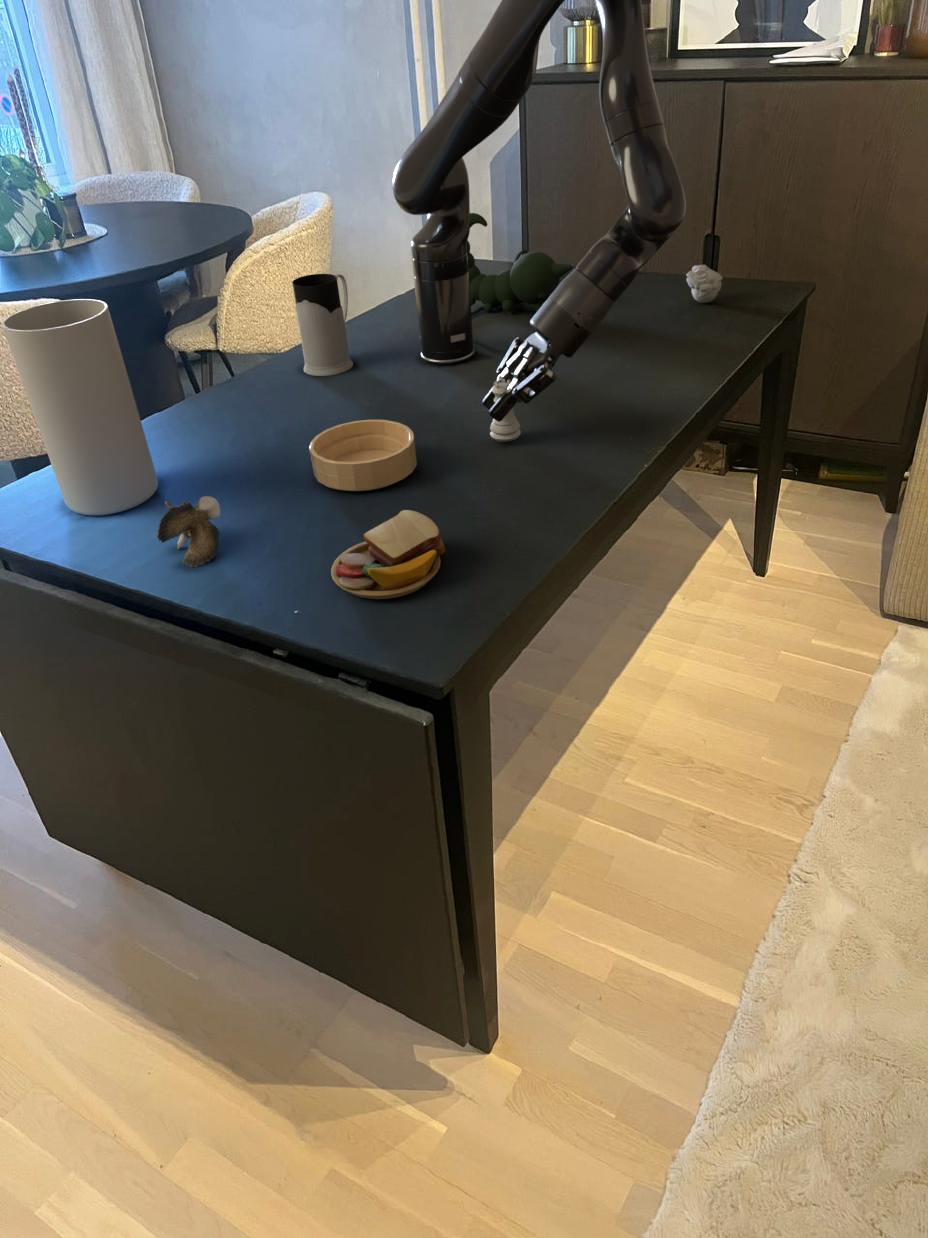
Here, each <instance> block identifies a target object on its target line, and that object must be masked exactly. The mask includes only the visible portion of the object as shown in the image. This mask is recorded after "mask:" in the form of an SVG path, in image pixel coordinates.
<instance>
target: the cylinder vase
mask: <svg viewBox="0 0 928 1238" xmlns="http://www.w3.org/2000/svg"><path fill="white" fill-rule="evenodd" d="M1 327H2V330H3V333H4V336H5V338H6V341H7V344H8V347H9V350H10V352H11V353H10V354H11V355H12V358H13V361H14V363H15V364H14V365H15V367H16V370H17V373H18V375H19V378H20V381H21V383H22V386H23V390H24V392H25V394H26V398H27V400H28V403H29V406H30V409H31V411H32V414H33V417H34V420H35V423H36V426H37V428H38V431H39V434H40V437H41V439H42V442H43V445H44V449H45V451H46V453H47V457H48V459H49V461H50V465H51V467H52V470H53V473H54V476H55V479H56V482H57V484H58V487H59V490H60V492H61V496H62V499H63V501H64V504H65V506H66V507H67V508H68V509H69V510H71V511H72V512H74V513H77V514H79V515H83V516H106V515H112V514H117V513H118V514H119V513H121V512H124V511H128V510H130V509H132V508H133V509H134V508H135V507H138V506H139V505H142V504H143V503H145V502H146V501H148V500H149V499H150V498H151V497H152V496H153V495H154V494H155V492H156V491H157V490H158V486H159V478H158V476H157V471H156V468H155V465H154V462H153V459H152V455H151V451H150V448H149V444H148V440H147V438H146V433H145V430H144V427H143V424H142V421H141V417H140V413H139V410H138V407H137V403H136V400H135V396H134V393H133V388H132V386H131V382H130V378H129V376H128V375H129V374H128V372H127V368H126V365H125V360H124V358H123V354H122V351H121V348H120V343H119V340H118V337H117V334H116V330H115V327H114V323H113V320H112V316H111V313H110V310H109V306H108V304H107V302H105V301H103V300H99V299H93V298H73V299H64V300H56V301H50V302H46V303H41V304H37V305H33V306H30V307H27V308H24V309H22V310H18V311H15V312H14V313H12V314H10V315H8V316H7V317H5V318H4V319H3V320H2V321H1Z"/></svg>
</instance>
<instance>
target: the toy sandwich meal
mask: <svg viewBox="0 0 928 1238" xmlns="http://www.w3.org/2000/svg"><path fill="white" fill-rule="evenodd" d="M363 538H364V541H362V542H360V543H357V544H355V545H353V546H351V547H349V548H347V549H346V550H345V551H343V552H342V553H340V554H339V555H338V556H337V558H336V559H335V560H334V562H333V563H332V566H331V570H330V575H331V578H332V580H333V582H334V583H335V584H336V585H337V586H338V587H339V588H340V589H342V590H343V591H345V592H348V593H349V594H351V595H353V596H356V597H359V598H363V599H369V600H390V599H396V598H400V597H403V596H406V595H409V594H412V593H414V592H416V591H418V590H420V589H421V588H423V587H424V586H425V585H426V584H428V583H429V581H431V580H432V579H433V578H434V577H435V575H436V574H437V573H438V571H439V569H440V567H441V556H440V555H443V554H444V553H445V552H446V547H445V543H444V540H443V538H442V537H441V531H440V528H439V527H438V525H437V524H436V523H435V522H434V521H433V520H432V519H431V518H429V516H427V515H425V514H423V513H421V512H418V511H415V510H411V509H403V510H401V511H399V512H398V513H397V515H395V516H393V517H391V518H390V519H388V520H386V521H384V522H382V523H380V524H379V525H377V526H375V527H373V528H371V529H370V530H368V531H366V532H365V533H364V534H363Z"/></svg>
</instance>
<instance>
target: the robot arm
mask: <svg viewBox="0 0 928 1238" xmlns="http://www.w3.org/2000/svg"><path fill="white" fill-rule="evenodd" d="M565 1H566V0H501V1H500V3H499V5H498V6H497V7H496V9H495V11H494V13H493V14H492V16H491V18H490V20H489V22H488V23H487V25H486V27H485V29H484V30H483V32H482V34H481V35H480V37H479V38H478V39H477V41H476V42H475V44H474V45H473V47H472V49H471V50H470V52H469V53H468V55H467V57H466V59H465V60H464V62H463V63H462V65H461V67H460V69H459V71H458V72H457V74H456V76H455V78H454V79H453V82H452V83H451V85H450V87H449V88H448V90H447V91H446V93H445V95H444V96H443V97H442V99H441V101H440V102H439V104H438V106H437V107H436V109H435V110H434V112H433V114H432V116H431V117H430V119H429V120H428V122H427V123H426V125H424V127H423V129H422V130H421V131H420V133H419V134H417V136H416V138H415V139H414V140H413V142H412V143H411V144H410V145H409V146H408V147H407V148H406V150H405V152H404V153H403V154H402V155H401V157H400V158H399V160H398V161H397V163H396V166H395V168H394V171H393V175H392V193H393V197H394V200H395V202H396V204H397V206H398V207H399V209H400V210H402V211H403V212H405V213H407V214H409V215H412V216H426V215H427V218H426V220H425V223H424V225H423V226H422V227H421V228H420V229H419V230H418V232H417V233H415V235H413V237H412V238H411V240H410V254H411V263H412V273H413V281H414V291H415V303H416V311H417V312H416V313H417V323H418V332H419V341H420V356H421V360H422V361H423V362H425V363H428V364H432V365H453V364H458V363H463V362H466V361H468V360H470V359H472V358H473V357H474V356H475V347H474V335H473V318H472V317H473V316H474V315H477V314H478V313H480V312H482V311H485V310H484V305H482V306H480V307H478V308H477V309H474V310H472V306H471V303H470V288H469V274H468V261H467V240H468V239H469V236H470V233H471V228H470V212H471V208H470V207H471V203H470V182H469V172H468V169H467V166H466V163H465V160H464V158H463V157H465V156H466V154H468V153H469V152H470V151H472V150H473V149H474V148H476V147H477V146H478V145H479V144H482V143H483V142H484V141H485V140H487V139H488V138H489V137H490V136H491V135H492V134H493V133H495V132H496V131H497V130H498V129H500V127H502V125H504V123H506V121H507V120H508V119H509V118H510V117H511V115H512V114H513V113H514V111H516V108H517V107H518V105H519V104H520V103H521V102H522V100H523V98H524V97H525V95H526V94H527V92H529V89H530V87H531V86H532V84H533V81H534V78H535V76H536V72H537V67H538V61H539V45H540V40H541V37H542V35H543V32H544V31H545V28H546V27H547V25H548V24H549V22H550V21H551V20H552V18H553V16H554V15H555V13H556V12H557V11H558V10H559V8H560V7H561V6H562V4H563V3H564V2H565ZM593 2H594V5H595V7H596V10H597V14H598V17H599V20H600V26H601V32H602V55H601V67H600V75H599V86H598V87H599V88H598V89H599V90H598V96H599V107H600V111H601V116H602V117H601V118H602V121H603V125H604V128H605V132H606V135H607V139H608V143H609V146H610V150H611V153H612V156H613V159H614V161H615V163H616V166H617V167H618V168H619V171H620V175H621V180H622V184H623V188H624V192H625V197H626V200H627V204H628V205H627V206H626V208H625V209H624V210H623V212H622V213H621V215H620V216H619V217H618V218H617V220H616V221H615V222H614V224H612V226H611V228H610V229H609V230H608V232H607V233H606V234H605V235H603V236H602V237H601V238H599V240H597V241H596V242H595V243H594V244H593V245H592V246H591V247H590V248H589V250H588V252H586V254H585V255H584V256H583V257H582V259H581V260H580V261H579V262H578V263H577V265H576V266H575V268H573V269H572V270H571V272H570V273H569V274H568V275H567V276H565V277H564V278H563V279H562V281H560V282H559V285H558V287H557V288H556V289H555V290H554V292H553V293H552V294H551V295H550V296H549V298H548V299H547V300H546V301H545V303H544V304H543V305H542V306H541V308H540V309H539V310H538V311H536V312H535V314H534V315H533V316H532V317H531V319H530V320H529V325H530V326H531V327H532V329H534V331H533V332H532V334H530V335H529V336H528V337H526V339H525V340H523V339H522V338H520V336H517V337H515V338H514V339H513V341H512V343H511V344H510V346H509V348H508V349H507V352H506V353H505V355H504V357H503V359H502V360H501V362H500V363H499V365H498V367H497V368H496V371H495V372H496V373H497V374H498V376H497V377H496V380H499V383H501V382H502V379H505V382H507V380H511V383H510V385H509V386H508V388H507V389H506V392H504V393H503V394H502V395H501V396H500V397H499V399H498V400H497V401H496V402H494V398H495V394H494V393H493V392H492V391H491V389H489V391H488V392H487V393H486V394H485V396H484V397H483V398H482V399H481V404H482V405H483V406H484V408H486V409H487V410H488V415H489V416H490V417H491V418H492V419H495V420H496V421H498V422H500V421H502V420H503V419H504V417H505V416H506V415H507V414H508V413H509V411H510V410H511V409H512V408H513V409H514V407H515V406H516V404H517V403H519V404H521V403H524V404H525V405H527V404H529V403H531V401H532V400H533V399H535V398H536V397H537V396H538V395H540V394H541V393H542V392H543V391H544V390H546V389H547V388H548V387H549V386H551V385H552V384H553V383H554V382H555V381H556V380H557V375H556V374H555V373H554V372H553V368H554V367H555V365H556V363H557V362H558V359H559V358H560V356H562V355H563V356H564V357H566V358H571V357H573V356H574V355H575V354H576V353H577V352H578V350H579V349H580V348H581V347H582V345H583V344H584V343H585V342H586V341H587V340H588V339H589V337H590V336H591V335H592V333H593V332H594V331H595V330H596V329H597V328H598V327H599V325H600V324H601V323H602V322H603V320H604V319H605V318H606V316H607V315H608V313H609V312H610V311H611V308H612V307H613V306H614V305H615V303H616V302H617V301H618V300H619V298H620V297H621V296H622V294H624V293H625V291H626V290H627V289H628V288H629V286H630V285H631V284H632V282H634V280H635V278H636V277H637V275H638V273H640V270H641V269H642V268H643V267H644V266H645V265H646V264H647V262H649V260H651V259H652V257H653V256H654V255H655V254H656V253H657V252H658V251H659V250H660V248H661V247H662V246H663V245H664V244H665V243H666V242H667V241H668V240H669V239H670V237H671V236H672V235H673V234H674V233H675V232H676V230H677V229H678V228H679V227H680V225H681V224H682V222H683V221H684V219H685V215H686V211H687V199H686V194H685V190H684V186H683V183H682V180H681V177H680V174H679V170H678V168H677V165H676V162H675V159H674V157H673V154H672V152H671V149H670V146H669V143H668V138H667V132H666V126H665V123H664V118H663V115H662V111H661V108H660V107H661V106H660V103H659V99H658V95H657V92H656V89H655V84H654V80H653V79H654V78H653V75H652V71H651V65H650V60H649V54H648V47H647V40H646V31H645V24H644V14H643V13H644V12H643V4H642V0H593ZM468 241H469V240H468ZM526 253H529V251H528V250H527V249H522V250H520V251H519V252H518V253H517V254H516V256H515V257H514V260H513V264H514V263H515V262H516V261H517V259H518V258H520V257H521V256H522V255H524V254H526Z"/></svg>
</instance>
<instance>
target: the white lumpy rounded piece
mask: <svg viewBox="0 0 928 1238" xmlns="http://www.w3.org/2000/svg"><path fill="white" fill-rule="evenodd" d="M685 275H686V282H687V285H688V287H689V288H690V289H691V295H692V297H693V299H694V300H695V301H696V302H697V303H700V304H708V303H710V302H712V301H713V300H715V299H716V298H717V296H718V294H719V292H720V290H721V289H722V285H723V284H722V283H723V282H722V280H723V276H722V275H721V274H720V273H719V272H717V271H714V270H713V269H711V268H710V267H708V266H707V265H706V264H697V265H693V266H692V268H691V270H689V271H688V272H687V273H686V274H685Z"/></svg>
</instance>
